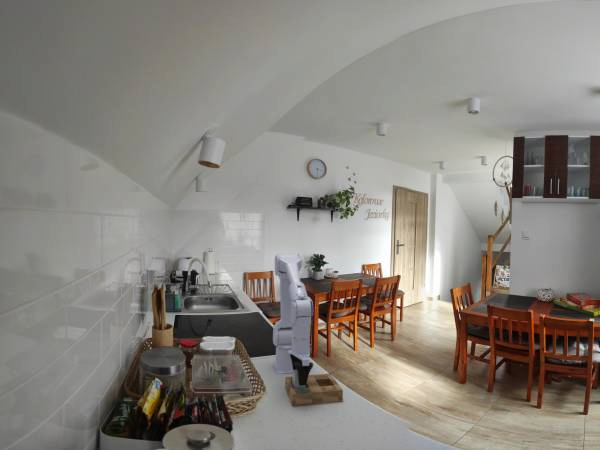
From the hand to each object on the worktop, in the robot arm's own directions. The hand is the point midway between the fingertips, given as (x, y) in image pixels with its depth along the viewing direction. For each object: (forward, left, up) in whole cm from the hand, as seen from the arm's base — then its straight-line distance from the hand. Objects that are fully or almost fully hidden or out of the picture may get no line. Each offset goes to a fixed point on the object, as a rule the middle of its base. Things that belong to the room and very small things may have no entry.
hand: (299, 379), depth 104 cm
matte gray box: (0, 0, -5) cm, 5 cm away
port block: (0, +5, -5) cm, 7 cm away
